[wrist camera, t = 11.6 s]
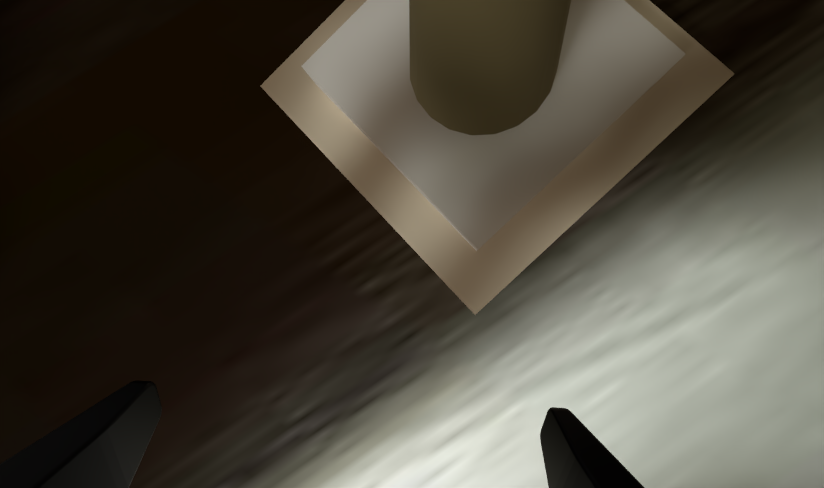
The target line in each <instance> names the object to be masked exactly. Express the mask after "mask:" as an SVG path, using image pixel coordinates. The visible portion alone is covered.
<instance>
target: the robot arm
mask: <svg viewBox="0 0 824 488" xmlns="http://www.w3.org/2000/svg"><path fill="white" fill-rule="evenodd" d="M161 411H162V407H161V403H160V399H159V395H158V391H157V388H156V385H155V384H154V383H153V382H151V381H133V382H131V383H129V384H127V385H126V386H124V387H122V388H121V389H119V390H118V391H116V392H114V393H113V394H111V395H110V396H108V397H106V398H105V399H103V400H102V401H100V402H98V403H97V404H95V405H94V406H92V407H90V408H89V409H87V410H86V411H84V412H83V413H81V414H79V415H78V416H76V417H75V418H73V419H71V420H70V421H68V422H67V423H65V424H63V425H62V426H60V427H59V428H57V429H55V430H54V431H52V432H51V433H49V434H47V435H46V436H44V437H43V438H41V439H39V440H38V441H36V442H35V443H33V444H32V445H30V446H28V447H27V448H25V449H24V450H22V451H20V452H19V453H17V454H16V455H14V456H12V457H11V458H9V459H8V460H6V461H4V462H3V463H1V464H0V488H129V486H130V483H131V481H132V479H133V477H134V475H135V473H136V471H137V468H138V466H139V464H140V462H141V459H142V457H143V455H144V453H145V450H146V448H147V446H148V444H149V441H150V439H151V437H152V435H153V432H154V430H155V428H156V426H157V423H158V421H159V419H160V416H161ZM540 439H541V446H542V452H543V457H544V463H545V469H546V474H547V480H548V486H549V488H644V487H643V486H642V485H641V484H640V483H639V482H638V481H637V480H636V479H635V477H634V476H633V475H632V474H631V473H630V472H629V471H628V470H627V469H626V468H625V467H624V466H623V465H622V464H621V463H620V462H619V461H618V460H617V459H616V458H615V457H614V456H613V455H612V454H611V453H610V452H609V451H608V450H607V449H606V448H605V446H604V445H603V444H602V443H601V442H600V441H599V440H598V439H597V438H596V437H595V436H594V435H593V434H592V433H591V432H590V431H589V430H588V429H587V428H586V427H585V426H584V425H583V424H582V423H581V422H580V421H579V420H578V419H577V418H576V417H575V415H574V414H573V413H572V412H571V411H569V410H568V409H566V408H550V409H549V410H548V412H547V415H546V418H545V420H544V423H543V426H542V429H541V434H540Z"/></svg>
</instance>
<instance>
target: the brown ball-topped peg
mask: <svg viewBox="0 0 824 488" xmlns="http://www.w3.org/2000/svg"><path fill="white" fill-rule="evenodd" d="M570 4H571V0H409V40H410V81H411V84H412V87H413V90H414V93H415V96H416V99H417V101H418V102H419V103H420V105H421V106H422V107H423V108H424V110H425V111H426V112H427V113H428V115H429V116H430V117H431V118H432V119H434V120H435V121H437V122H438V123H440V124H442V125H443V126H445V127H446V128H448V129H449V130H453V131H457V132H461V133H464V134H468V135H489V134H497V133H500V132H502V131H505V130H508V129H511V128H513V127H516V126H518V125H519V124H521V123H522V122H523V121H525V120H526V119H527V118H529V117H530V116H531V115H533V114H534V113H535V112H537V110H538V109H539V107H540V106H541V105H542V103H543V102H544V100H545V99H546V97H547V96H548V95H549V93H550V92H551V88H552V85H553V82H554V79H555V75H556V72H557V69H558V64H559V59H560V54H561V49H562V44H563V39H564V34H565V29H566V24H567V19H568V14H569V9H570Z"/></svg>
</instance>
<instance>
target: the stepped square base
mask: <svg viewBox="0 0 824 488" xmlns="http://www.w3.org/2000/svg"><path fill="white" fill-rule="evenodd" d="M733 75H734V73H733V72H732V71H731V70H730V69H728V68H727V67H726V66H725V65H724V64H723V63H722V62H720V61H719V60H718V59H717V58H716V57H715V56H713V55H712V54H711V53H710V52H709V51H708V50H706V49H705V48H704V47H703V46H702V45H701V44H699V43H698V42H697V41H696V40H695V39H694V38H693V37H691V36H690V35H689V34H688V33H687V32H686V31H684V30H683V29H682V28H681V27H680V26H679V25H677V24H676V23H675V22H674V21H673V20H672V19H670V18H669V17H668V16H667V15H666V14H665V13H664V12H662V11H661V10H660V9H659V8H658V7H657V6H655V5H654V4H653V3H652V2H651V1H650V0H571V4H570V9H569V14H568V19H567V24H566V29H565V34H564V39H563V44H562V49H561V54H560V59H559V64H558V69H557V72H556V75H555V79H554V82H553V85H552V88H551V92H550V93H549V95H548V96H547V97H546V99H545V100H544V102H543V103H542V105H541V106H540V107H539V109H538V110H537V112H535V113H534V114H533V115H531V116H530V117H529V118H527V119H526V120H525V121H523V122H522V123H521V124H519V125H518V126H516V127H513V128H511V129H508V130H505V131H502V132H500V133H497V134H489V135H468V134H464V133H461V132H457V131H453V130H449V129H448V128H446V127H445V126H443V125H442V124H440V123H438V122H437V121H435V120H434V119H432V118H431V117H430V116H429V115H428V113H427V112H426V111H425V110H424V108H423V107H422V106H421V105H420V103H419V102H418V101H417V99H416V96H415V93H414V90H413V87H412V84H411V81H410V40H409V0H345V1H344V2H343V3H342V4H341V5H340V6H339V7H338V8H337V9H336V10H335V11H334V12H333V13H332V14H331V15H330V16H329V17H328V18H327V19H326V20H325V21H324V22H323V23H322V24H321V25H320V26H319V27H318V28H317V29H316V30H315V31H314V32H313V33H312V34H311V35H310V36H309V37H308V38H307V39H306V40H305V41H304V42H303V43H302V44H301V45H300V47H299V48H298V49H297V50H296V51H295V52H294V53H293V54H292V55H291V56H290V57H289V58H288V59H287V60H286V61H285V62H284V63H283V64H282V65H281V66H280V67H279V68H278V69H277V70H276V71H275V72H274V73H273V74H272V75H271V76H270V77H269V78H268V79H267V80H266V81H265V82H264V83H263V84H262V85H261V87H262V88H263V89H264V91H265V92H266V93H267V94H268V95H269V96H270V97H271V98H272V99H273V100H274V101H275V102H276V103H277V104H278V105H279V106H280V108H281V109H282V110H283V111H284V112H285V113H286V114H287V115H288V116H289V117H290V118H291V119H292V120H293V121H294V122H295V124H296V125H297V126H298V127H299V128H300V129H301V130H302V131H303V132H304V133H305V134H306V135H307V136H308V137H309V138H310V140H311V141H312V142H313V143H314V144H315V145H316V146H317V147H318V148H319V149H320V150H321V151H322V152H323V153H324V154H325V156H326V157H327V158H328V159H329V160H330V161H331V162H332V163H333V164H334V165H335V166H336V167H337V168H338V169H339V170H340V172H341V173H342V174H343V175H344V176H345V177H346V178H347V179H348V180H349V181H350V182H351V183H352V184H353V185H354V186H355V188H356V189H357V190H358V191H359V192H360V193H361V194H362V195H363V196H364V197H365V198H366V199H367V200H368V201H369V202H370V204H371V205H372V206H373V207H374V208H375V209H376V210H377V211H378V212H379V213H380V214H381V215H382V216H383V217H384V218H385V219H386V221H387V222H388V223H389V224H390V225H391V226H392V227H393V228H394V229H395V230H396V231H397V232H398V233H399V234H400V235H401V237H402V238H403V239H404V240H405V241H406V242H407V243H408V244H409V245H410V246H411V247H412V248H413V249H414V250H415V251H416V253H417V254H418V255H419V256H420V257H421V258H422V259H423V260H424V261H425V262H426V263H427V264H428V265H429V266H430V267H431V269H432V270H433V271H434V272H435V273H436V274H437V275H438V276H439V277H440V278H441V279H442V280H443V281H444V282H445V283H446V285H447V286H448V287H449V288H450V289H451V290H452V291H453V292H454V293H455V294H456V295H457V296H458V297H459V298H460V299H461V301H462V302H463V303H464V304H465V305H466V306H467V307H468V308H469V309H470V310H471V311H472V312H473V313H474V314H475V315H476V314H477V313H478V312H479V311H480V310H481V309H482V308H483V307H484V306H485V305H486V304H487V303H488V302H490V301H491V300H492V299H493V298H494V297H495V296H496V295H497V294H498V293H499V292H500V291H501V290H502V289H504V288H505V287H506V286H507V285H508V284H509V283H510V282H511V281H512V280H513V279H514V278H515V277H516V276H518V275H519V274H520V273H521V272H522V271H523V270H524V269H525V268H526V267H527V266H528V265H529V264H530V263H532V262H533V261H534V260H535V259H536V258H537V257H538V256H539V255H540V254H541V253H542V252H543V251H544V250H546V249H547V248H548V247H549V246H550V245H551V244H552V243H553V242H554V241H555V240H556V239H557V238H558V237H560V236H561V235H562V234H563V233H564V232H565V231H566V230H567V229H568V228H569V227H570V226H571V225H572V224H574V223H575V222H576V221H577V220H578V219H579V218H580V217H581V216H582V215H583V214H584V213H585V212H586V211H588V210H589V209H590V208H591V207H592V206H593V205H594V204H595V203H596V202H597V201H598V200H599V199H600V198H602V197H603V196H604V195H605V194H606V193H607V192H608V191H609V190H610V189H611V188H612V187H613V186H614V185H616V184H617V183H618V182H619V181H620V180H621V179H622V178H623V177H624V176H625V175H626V174H627V173H628V172H629V171H631V170H632V169H633V168H634V167H635V166H636V165H637V164H638V163H639V162H640V161H641V160H642V159H643V158H645V157H646V156H647V155H648V154H649V153H650V152H651V151H652V150H653V149H654V148H655V147H656V146H657V145H659V144H660V143H661V142H662V141H663V140H664V139H665V138H666V137H667V136H668V135H669V134H670V133H671V132H673V131H674V130H675V129H676V128H677V127H678V126H679V125H680V124H681V123H682V122H683V121H684V120H685V119H687V118H688V117H689V116H690V115H691V114H692V113H693V112H694V111H695V110H696V109H697V108H698V107H699V106H701V105H702V104H703V103H704V102H705V101H706V100H707V99H708V98H709V97H710V96H711V95H712V94H713V93H715V92H716V91H717V90H718V89H719V88H720V87H721V86H722V85H723V84H724V83H725V82H726V81H727V80H729V79H730V78H731V77H732V76H733Z"/></svg>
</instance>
